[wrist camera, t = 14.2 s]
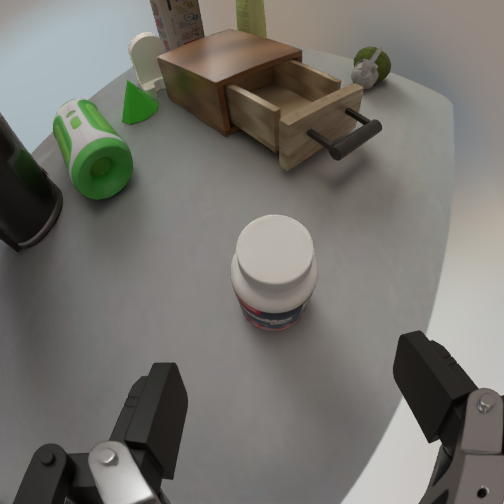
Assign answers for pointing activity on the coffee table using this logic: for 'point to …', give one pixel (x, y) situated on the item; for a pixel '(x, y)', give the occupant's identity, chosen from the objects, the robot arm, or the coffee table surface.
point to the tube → (251, 17)
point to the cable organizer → (147, 62)
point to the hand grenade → (370, 67)
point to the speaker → (92, 150)
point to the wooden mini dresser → (217, 71)
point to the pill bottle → (274, 271)
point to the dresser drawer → (298, 111)
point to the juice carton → (177, 22)
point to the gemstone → (137, 105)
